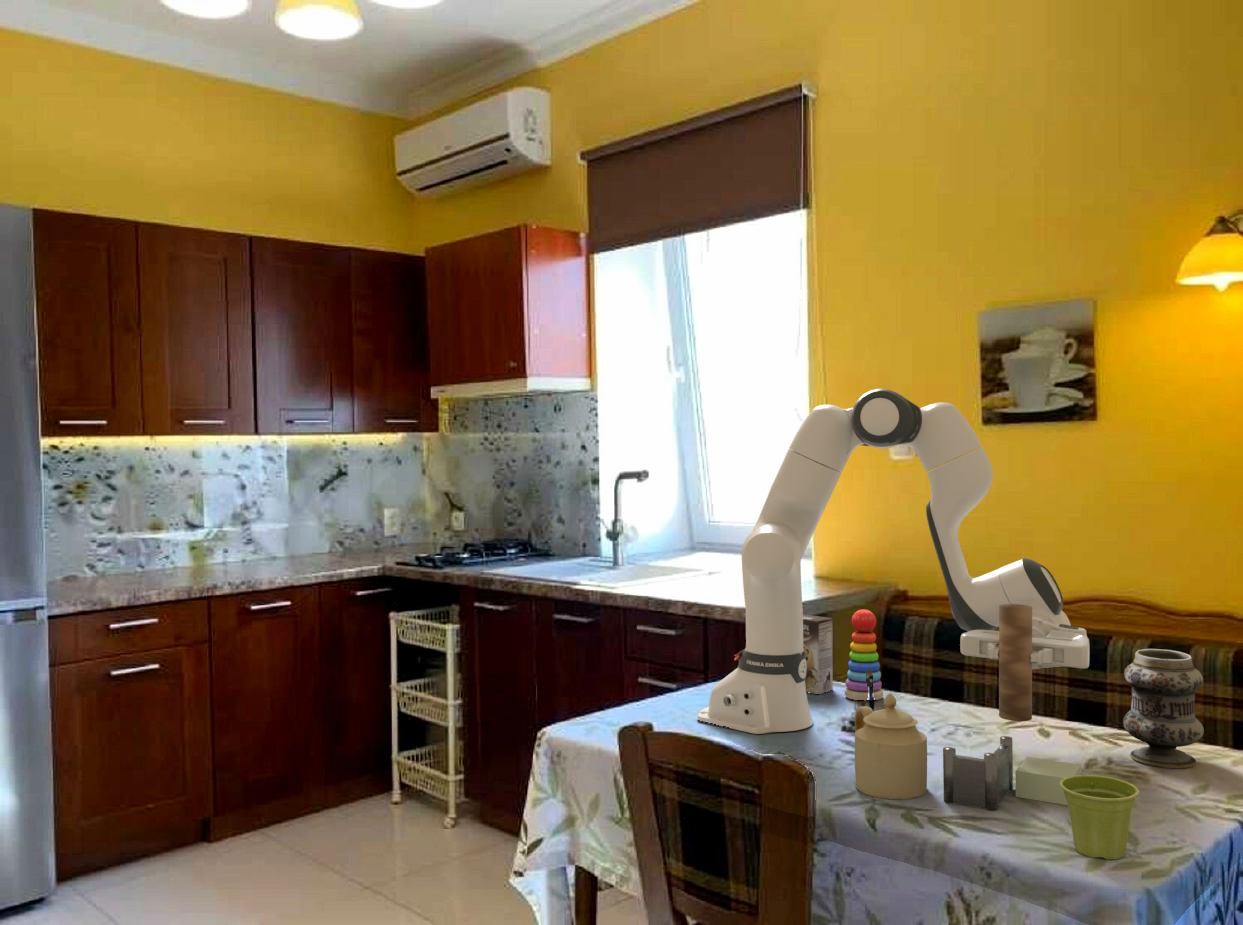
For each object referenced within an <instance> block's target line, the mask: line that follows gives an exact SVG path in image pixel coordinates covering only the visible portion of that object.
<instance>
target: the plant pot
mask: <svg viewBox="0 0 1243 925" xmlns="http://www.w3.org/2000/svg"><path fill="white" fill-rule="evenodd" d="M1060 787H1061V788H1062V789H1063V790H1064V795H1065V798H1066V799H1067V803H1068V805H1067V808H1068V813H1069V814H1068V815H1069V819H1070V825H1071V826H1070V827H1071V832H1072V838H1073V839H1072V840H1073V845H1074V848H1075V850H1076V851H1077V852H1078V853H1079V854H1082V855H1084V856H1086V857H1088V858H1093V859H1094V858H1099V857H1100V858H1104V859H1105V860H1109V859H1113V860H1116V859H1122V858H1123V857H1125V856H1126V853H1127V845H1128V839H1129V831H1130V822H1131V818H1132V811H1133V807H1134V805H1135V802H1136V801H1135V800H1136V798H1137V797H1138V796H1139V793H1140V790H1139V789H1138V787H1137V786H1136V785H1134V784H1132V783H1131V782H1128V781H1124V780H1122V779H1118V778H1115V777H1111V776H1110V777H1109V776H1106V775H1105V776H1103V775H1094V774H1093V775H1091V774H1089V775H1087V774H1083V775H1077V776H1070V777H1066V778H1064V779H1062V780H1061V781H1060Z"/></svg>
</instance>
